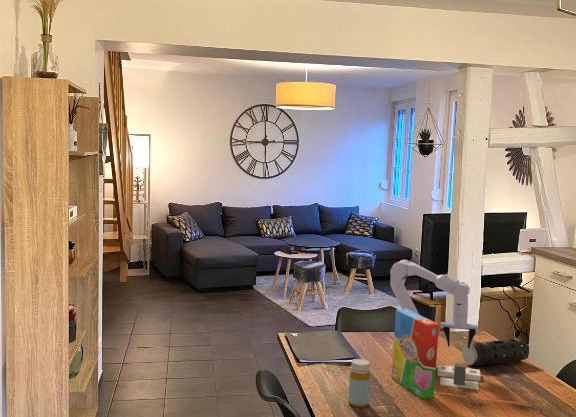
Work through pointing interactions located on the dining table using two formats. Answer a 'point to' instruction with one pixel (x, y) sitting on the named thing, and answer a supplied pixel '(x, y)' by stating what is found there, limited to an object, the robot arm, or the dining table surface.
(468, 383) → the sage mat
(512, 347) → the muzzle brake
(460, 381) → the block
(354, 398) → the bottle
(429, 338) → the game box
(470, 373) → the socket strip
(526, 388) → the dining table surface
